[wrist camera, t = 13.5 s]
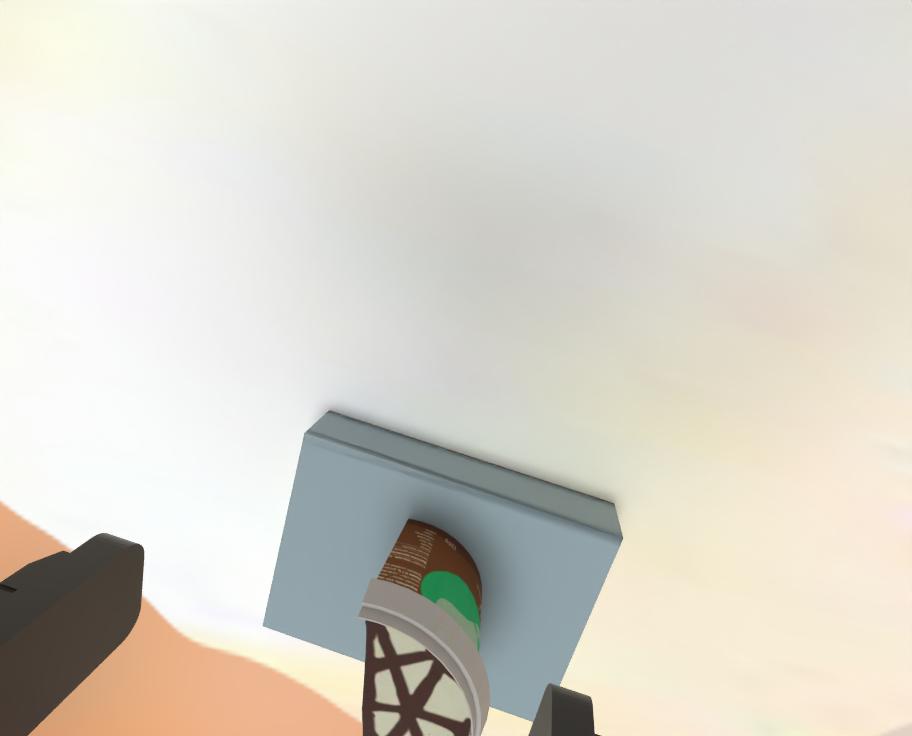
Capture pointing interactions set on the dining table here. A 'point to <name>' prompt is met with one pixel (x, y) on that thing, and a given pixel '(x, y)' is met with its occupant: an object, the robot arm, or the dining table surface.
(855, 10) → the dining table surface
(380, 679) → the food container
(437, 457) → the book
